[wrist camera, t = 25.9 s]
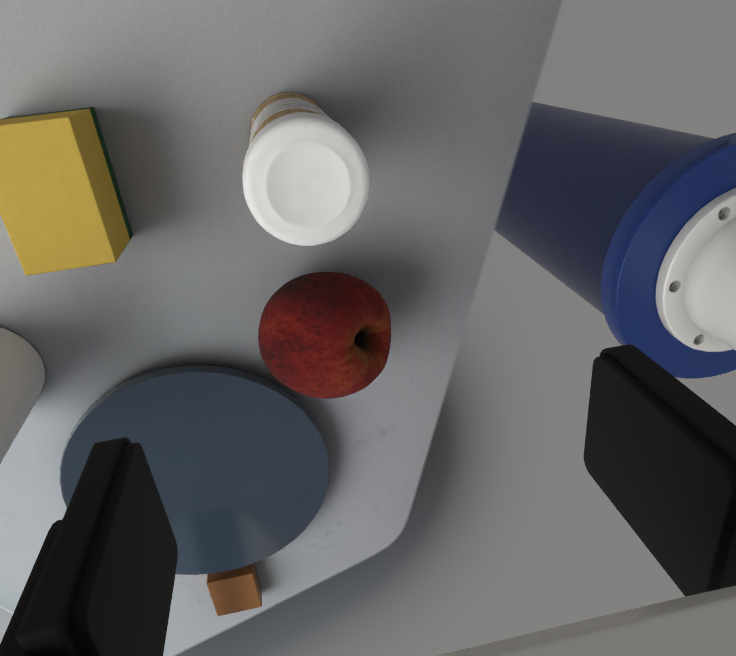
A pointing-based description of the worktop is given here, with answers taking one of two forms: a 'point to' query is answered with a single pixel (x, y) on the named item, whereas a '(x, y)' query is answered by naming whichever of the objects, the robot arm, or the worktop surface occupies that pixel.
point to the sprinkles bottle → (303, 172)
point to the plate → (214, 459)
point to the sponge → (60, 192)
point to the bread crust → (235, 590)
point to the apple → (325, 334)
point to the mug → (17, 385)
